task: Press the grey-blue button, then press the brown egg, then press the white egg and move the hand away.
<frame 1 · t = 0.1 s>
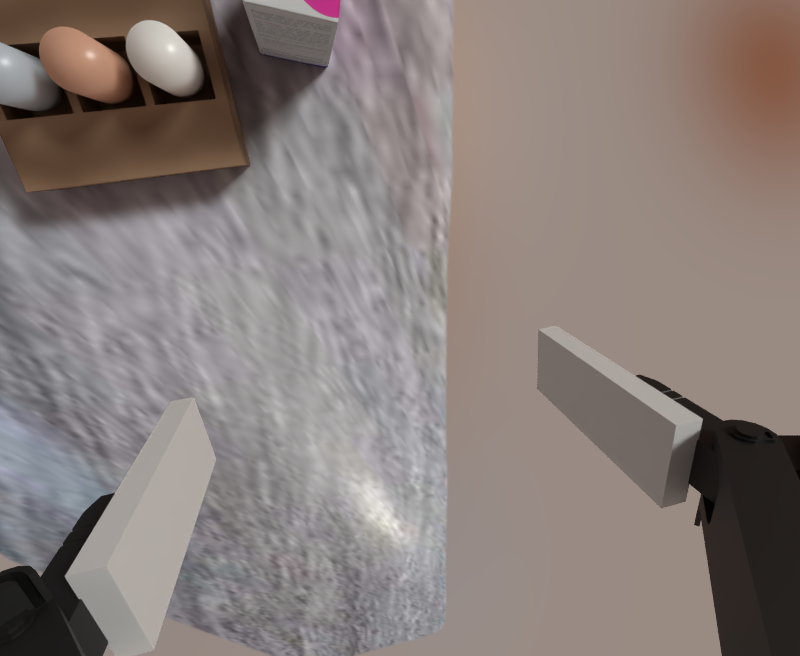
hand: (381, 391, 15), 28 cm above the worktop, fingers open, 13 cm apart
grey-blue button: (10, 77, 27), point 6 cm above the worktop, slide at 0.0 cm
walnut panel: (126, 85, 33), on the worktop
white egg: (169, 62, 28), point 6 cm above the worktop, slide at 0.0 cm
supplement box: (296, 23, 34), on the worktop
brown egg: (92, 69, 27), point 6 cm above the worktop, slide at 0.0 cm
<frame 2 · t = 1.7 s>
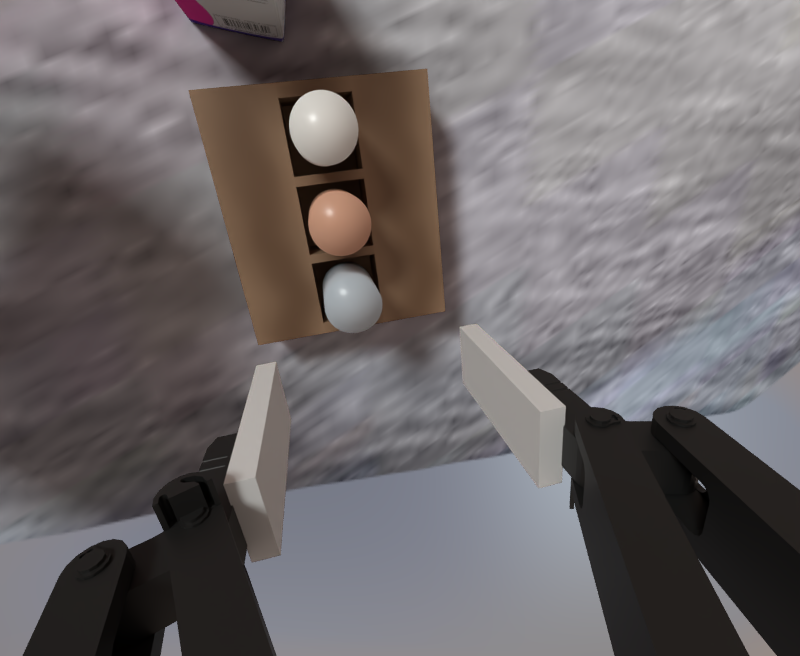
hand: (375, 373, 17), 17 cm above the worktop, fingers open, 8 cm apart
grey-blue button: (350, 295, 27), point 6 cm above the worktop, slide at 0.0 cm
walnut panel: (333, 211, 31), on the worktop
white egg: (323, 132, 23), point 6 cm above the worktop, slide at 0.0 cm
brown egg: (337, 220, 25), point 6 cm above the worktop, slide at 0.0 cm
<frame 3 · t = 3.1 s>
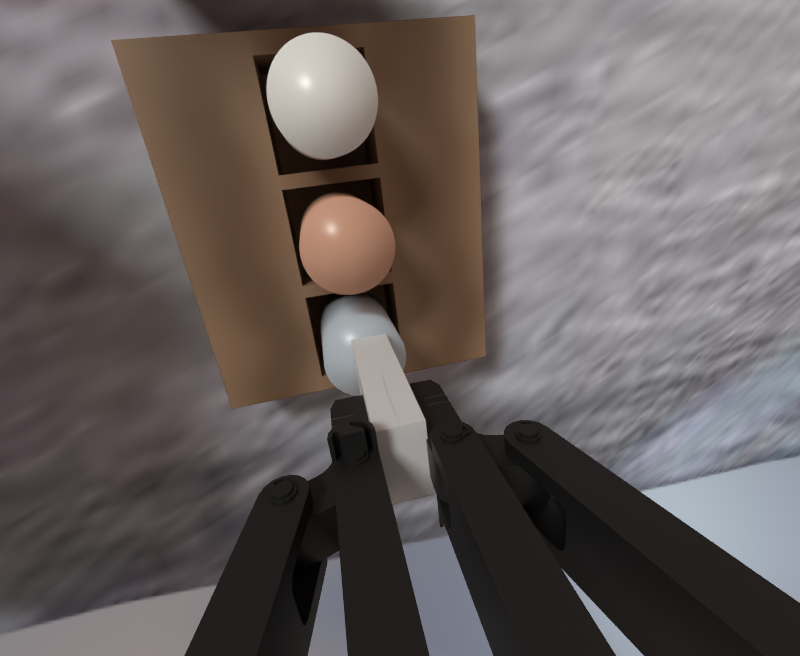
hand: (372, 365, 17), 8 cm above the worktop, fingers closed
grey-blue button: (359, 339, 20), point 5 cm above the worktop, slide at 0.5 cm, touching gripper
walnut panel: (334, 222, 22), on the worktop
white egg: (321, 108, 15), point 6 cm above the worktop, slide at 0.0 cm
brown egg: (343, 238, 17), point 6 cm above the worktop, slide at 0.0 cm
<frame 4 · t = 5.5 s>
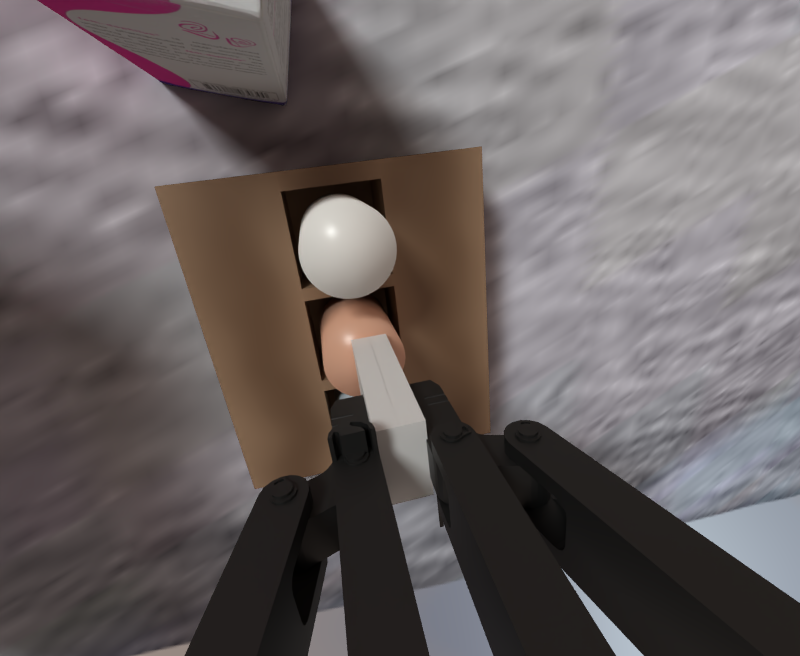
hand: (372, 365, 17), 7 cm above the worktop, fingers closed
grey-blue button: (369, 410, 23), point 3 cm above the worktop, slide at 2.3 cm
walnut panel: (349, 309, 24), on the worktop
white egg: (343, 241, 17), point 6 cm above the worktop, slide at 0.0 cm
supplement box: (224, 22, 18), on the worktop
brown egg: (358, 339, 20), point 5 cm above the worktop, slide at 0.9 cm, touching gripper
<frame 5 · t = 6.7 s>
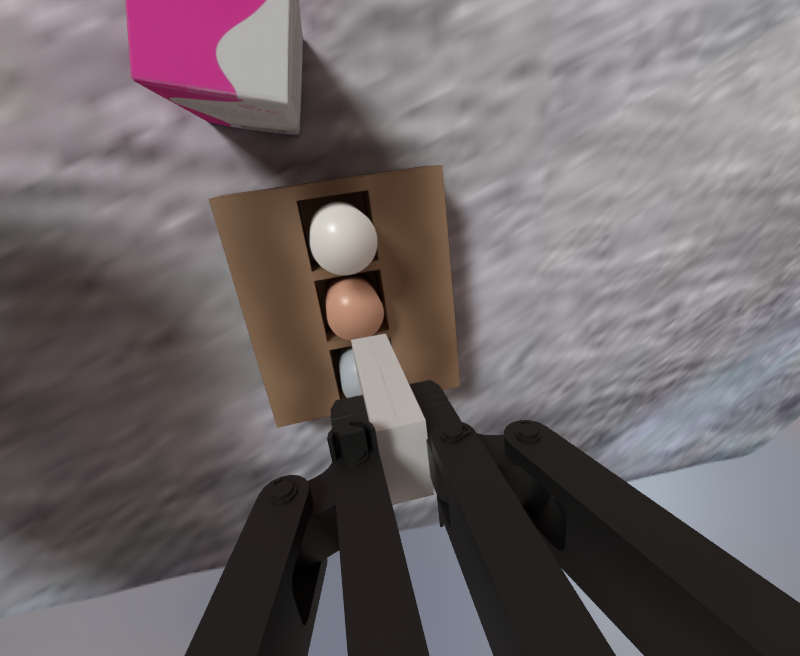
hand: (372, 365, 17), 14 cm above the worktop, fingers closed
grey-blue button: (364, 367, 30), point 3 cm above the worktop, slide at 2.3 cm
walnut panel: (348, 290, 31), on the worktop
white egg: (341, 235, 24), point 6 cm above the worktop, slide at 0.0 cm
supplement box: (254, 79, 25), on the worktop
brown egg: (352, 303, 28), point 3 cm above the worktop, slide at 2.3 cm
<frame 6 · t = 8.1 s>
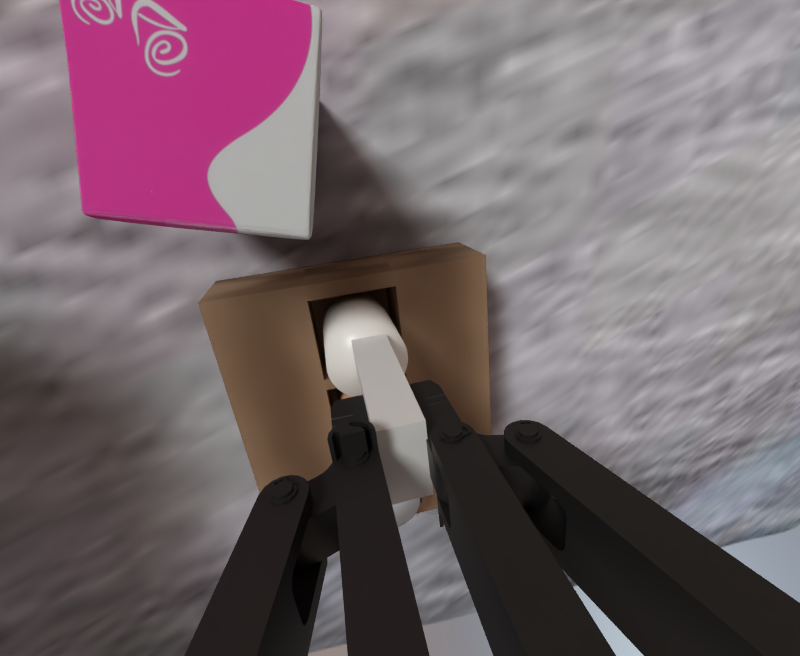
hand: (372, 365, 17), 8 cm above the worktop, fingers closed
grey-blue button: (382, 476, 25), point 3 cm above the worktop, slide at 2.3 cm
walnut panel: (363, 381, 26), on the worktop
white egg: (361, 341, 20), point 5 cm above the worktop, slide at 0.7 cm, touching gripper
supplement box: (256, 146, 20), on the worktop
brown egg: (370, 409, 23), point 3 cm above the worktop, slide at 2.3 cm
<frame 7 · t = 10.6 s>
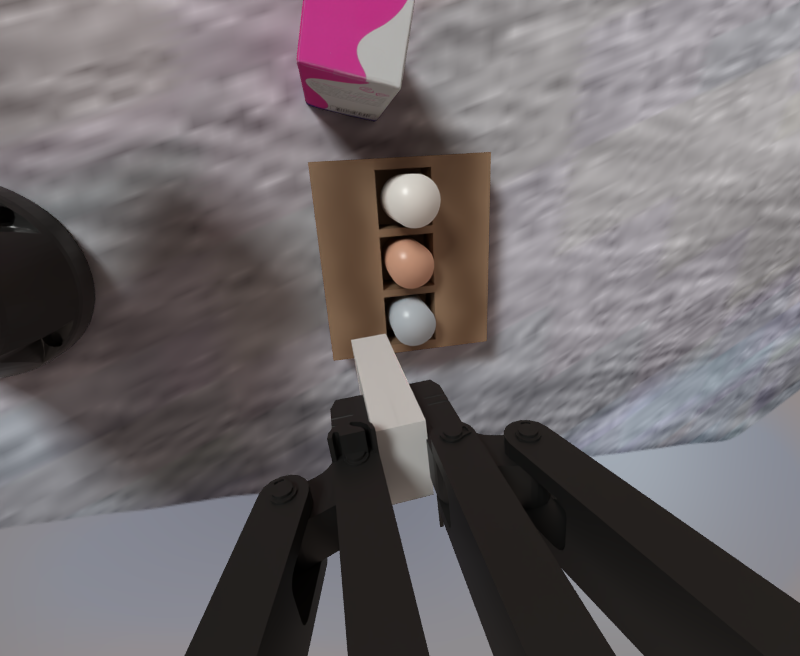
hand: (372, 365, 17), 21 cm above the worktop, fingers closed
grey-blue button: (409, 316, 36), point 3 cm above the worktop, slide at 2.3 cm
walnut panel: (399, 253, 37), on the worktop
white egg: (408, 199, 30), point 6 cm above the worktop, slide at 0.1 cm
supplement box: (346, 73, 31), on the worktop
brown egg: (406, 260, 34), point 3 cm above the worktop, slide at 2.3 cm
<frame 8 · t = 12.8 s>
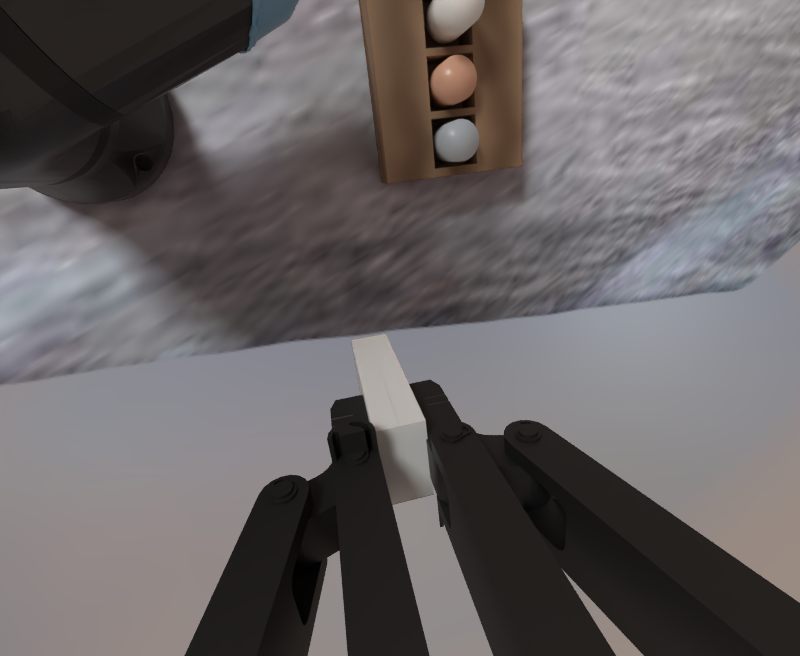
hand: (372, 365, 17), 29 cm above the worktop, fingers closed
grey-blue button: (452, 142, 40), point 3 cm above the worktop, slide at 2.3 cm
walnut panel: (438, 90, 41), on the worktop
white egg: (453, 10, 34), point 6 cm above the worktop, slide at 0.1 cm
brown egg: (449, 83, 38), point 3 cm above the worktop, slide at 2.3 cm
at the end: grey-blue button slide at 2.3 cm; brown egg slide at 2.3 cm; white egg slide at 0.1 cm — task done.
